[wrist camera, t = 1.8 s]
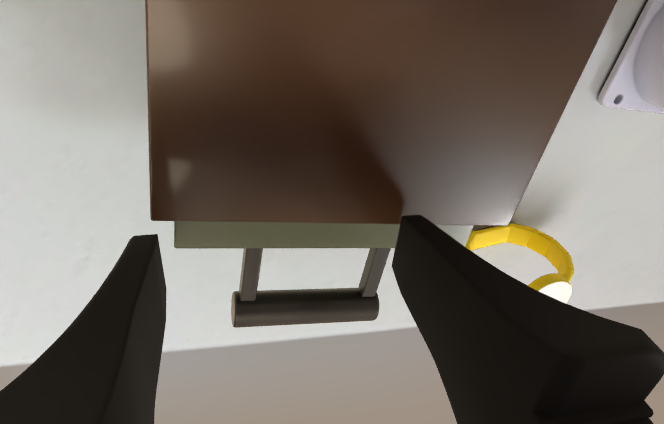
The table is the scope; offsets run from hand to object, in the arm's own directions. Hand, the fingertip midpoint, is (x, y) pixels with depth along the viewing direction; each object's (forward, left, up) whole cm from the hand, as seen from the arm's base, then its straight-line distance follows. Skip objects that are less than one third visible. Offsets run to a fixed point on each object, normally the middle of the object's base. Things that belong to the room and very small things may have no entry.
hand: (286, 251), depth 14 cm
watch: (-15, +7, -10) cm, 19 cm away
